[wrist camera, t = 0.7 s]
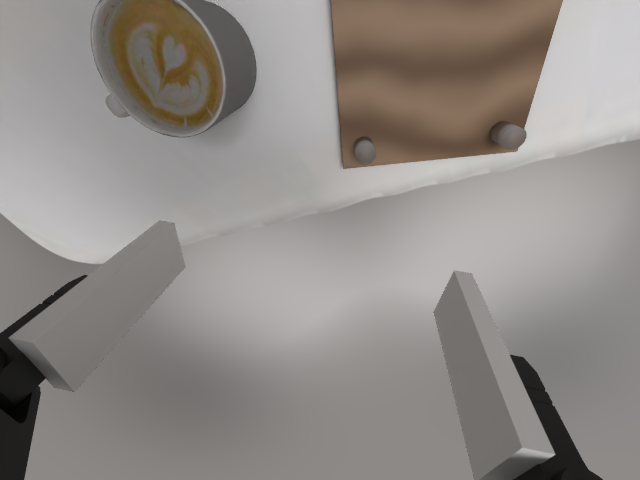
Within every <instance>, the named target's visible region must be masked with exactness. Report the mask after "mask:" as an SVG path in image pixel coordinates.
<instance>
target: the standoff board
mask: <svg viewBox="0 0 640 480" xmlns="http://www.w3.org/2000/svg"><path fill="white" fill-rule="evenodd" d="M562 2H563V0H331V8H332V22H333V35H334V49H335V62H336V76H337V89H338V103H339V116H340V130H341V143H342V157H343V169H346V168H356V167H366V166H376V165H386V164H396V163H406V162H416V161H426V160H436V159H446V158H456V157H466V156H476V155H486V154H496V153H506V152H516V151H517V150H518V147H520V146H521V145H522V144H523V143H524V141H525V139H526V131H525V130H524V127H525V124H526V121H527V117H528V114H529V111H530V107H531V104H532V101H533V97H534V94H535V91H536V88H537V84H538V81H539V78H540V74H541V71H542V68H543V64H544V61H545V58H546V54H547V51H548V48H549V45H550V41H551V38H552V35H553V31H554V28H555V25H556V21H557V18H558V15H559V11H560V8H561V5H562Z"/></svg>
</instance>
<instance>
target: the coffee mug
mask: <svg viewBox="0 0 640 480" xmlns="http://www.w3.org/2000/svg"><path fill="white" fill-rule="evenodd" d="M91 45H92V51H93V55H94V60H95V63H96V66H97V68H98V71H99V73H100V75H101V77H102V79H103V81H104V83H105V85H106V86H107V88H108V90H109V91H110V93H111V94H110V95H109V96H107V98H106V104H107V106H108V108H109V109H110V110H111V112H112V113H113V114H114V115H116V116H118V117H127V116H130V115H131V116H132V117H133V118H134V119H135V120H137V121H138V122H140V123H141V124H143V125H144V126H146V127H147V128H149V129H151V130H153V131H156V132H158V133H161V134H164V135H167V136H173V137H190V136H194V135H197V134H200V133H202V132H204V131H206V130H208V129H209V128H211V127H212V126H213V125H215V124H216V123H218V122H219V121H221V120H222V119H224V118H225V117H227V116H228V115H229V114H231V113H232V112H234V111H235V110H237V109H238V108H240V107H241V106H242V105H243V104H244V103H245V102H246V101H247V100H248V98H249V97H250V95H251V93H252V91H253V88H254V85H255V80H256V60H255V55H254V51H253V48H252V45H251V42H250V40H249V38H248V36H247V34H246V33H245V31H244V29H243V28H242V26H241V25H240V24H239V23H238V21H237V20H236V19H235V18H234V17H233V16H232V15H231V14H229V13H228V12H227V11H226V10H224V9H223V8H221V7H219V6H218V5H216V4H213V3H210V2H207V1H204V0H100V1H99V3H98V5H97V6H96V9H95V12H94V15H93V17H92V23H91Z"/></svg>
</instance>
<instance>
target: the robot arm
mask: <svg viewBox="0 0 640 480" xmlns="http://www.w3.org/2000/svg"><path fill="white" fill-rule="evenodd" d="M184 268H185V264H184V260H183V256H182V252H181V248H180V244H179V240H178V236H177V232H176V228H175V224H174V223H170V222H164V221H158V222H157V223H156V224H154V225H153V226H152V227H151V228H149V229H148V230H147V231H145V232H144V233H143V234H142V235H140V236H139V237H138V238H136V239H135V240H134V241H133V242H131V243H130V244H129V245H127V246H126V247H125V248H124V249H122V250H121V251H120V252H118V253H117V254H116V255H114V256H113V257H112V258H111V259H109V260H108V261H107V262H105V263H104V264H103V265H102V266H100V267H99V268H98V269H96V270H95V271H94V272H93V273H91V274H90V275H89V276H87V275H84V276H81V277H79V278H77V279H75V280H73V281H71V282H69V283H67V284H66V285H64V286H63V287H62V288H60V289H59V290H58V291H56V292H55V293H54V295H51V296H50V297H48V298H47V299H46V300H44V301H43V303H42V304H39V305H38V306H36V307H35V308H34V309H32V310H31V311H30V312H28V313H27V314H26V315H24V316H23V317H22V318H20V319H19V320H18V321H16V322H15V323H14V324H12V325H11V326H10V327H8V328H7V329H6V330H4V331H3V332H1V333H0V480H24V477H25V472H26V467H27V461H28V457H29V451H30V446H31V440H32V436H33V430H34V425H35V420H36V415H37V410H38V405H39V399H40V394H41V392H40V387H39V386H38V385H39V384H40V383H41V382H42V381H43V380H44V379H45V378H46V379H47V380H48V381H49V382H50V384H51V385H52V386H53V387H55V388H59V389H63V390H68V391H72V392H75V391H76V390H77V389H78V388H79V387H80V386H81V384H82V383H83V382H84V381H85V380H86V379H87V378H88V377H89V375H90V374H91V373H92V372H93V371H94V370H95V369H96V368H97V366H98V365H99V364H100V363H101V362H102V361H103V360H104V358H105V357H106V356H107V355H108V354H109V353H110V352H111V350H112V349H113V348H114V347H115V346H116V345H117V344H118V342H119V341H120V340H121V339H122V338H123V337H124V336H125V335H126V334H127V332H128V331H129V330H130V329H131V328H132V327H133V326H134V324H135V323H136V322H137V321H138V320H139V319H140V318H141V317H142V315H143V314H144V313H145V312H146V311H147V310H148V309H149V308H150V306H151V305H152V304H153V303H154V302H155V301H156V299H157V298H158V297H159V296H160V295H161V294H162V293H163V292H164V291H165V289H166V288H167V287H168V286H169V285H170V284H171V283H172V281H173V280H174V279H175V278H176V277H177V276H178V275H179V274H180V272H181V271H182V270H183V269H184ZM434 316H435V320H436V324H437V328H438V332H439V336H440V340H441V345H442V349H443V352H444V357H445V361H446V365H447V369H448V373H449V378H450V381H451V386H452V390H453V394H454V398H455V402H456V406H457V411H458V414H459V419H460V423H461V427H462V431H463V435H464V439H465V444H466V448H467V452H468V456H469V460H470V464H471V468H472V472H473V477H474V480H603V479H601V478H600V477H599V476H597V475H596V474H594V473H593V472H591V471H589V470H588V468H587V467H586V465H585V463H584V462H583V460H582V458H581V457H580V455H579V453H578V451H577V449H576V447H575V445H574V443H573V441H572V439H571V437H570V435H569V433H568V431H567V430H566V428H565V426H564V424H563V422H562V420H561V418H560V416H559V414H558V412H557V410H556V409H555V407H554V406H553V405H552V401H551V399H550V397H549V395H548V393H547V392H545V387H544V386H543V384H542V382H541V380H540V378H539V376H538V374H537V372H536V371H535V370H534V369H533V368H532V367H531V365H530V364H529V363H528V362H527V361H526V360H525V359H524V358H523V357H519V356H514V355H509V353H508V350H507V348H506V346H505V344H504V342H503V340H502V337H501V335H500V333H499V331H498V329H497V327H496V325H495V322H494V320H493V318H492V316H491V314H490V311H489V310H488V307H487V305H486V303H485V301H484V298H483V296H482V294H481V292H480V290H479V288H478V285H477V283H476V281H475V279H474V277H473V275H472V274H471V273H466V272H459V271H454V272H453V274H452V276H451V278H450V280H449V282H448V284H447V286H446V288H445V290H444V292H443V294H442V296H441V298H440V300H439V303H438V304H437V306H436V308H435V310H434Z"/></svg>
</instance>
